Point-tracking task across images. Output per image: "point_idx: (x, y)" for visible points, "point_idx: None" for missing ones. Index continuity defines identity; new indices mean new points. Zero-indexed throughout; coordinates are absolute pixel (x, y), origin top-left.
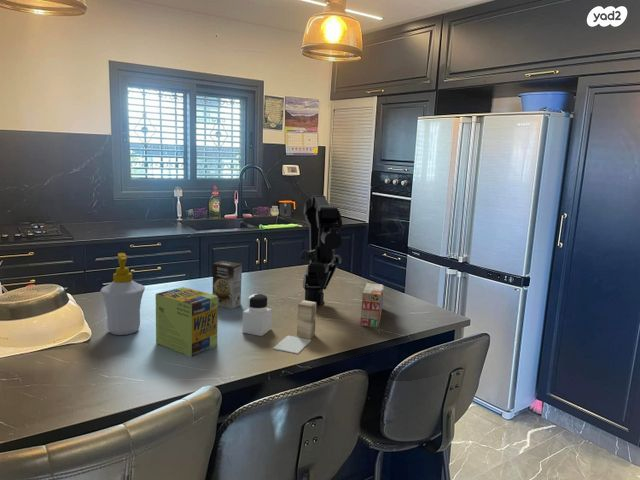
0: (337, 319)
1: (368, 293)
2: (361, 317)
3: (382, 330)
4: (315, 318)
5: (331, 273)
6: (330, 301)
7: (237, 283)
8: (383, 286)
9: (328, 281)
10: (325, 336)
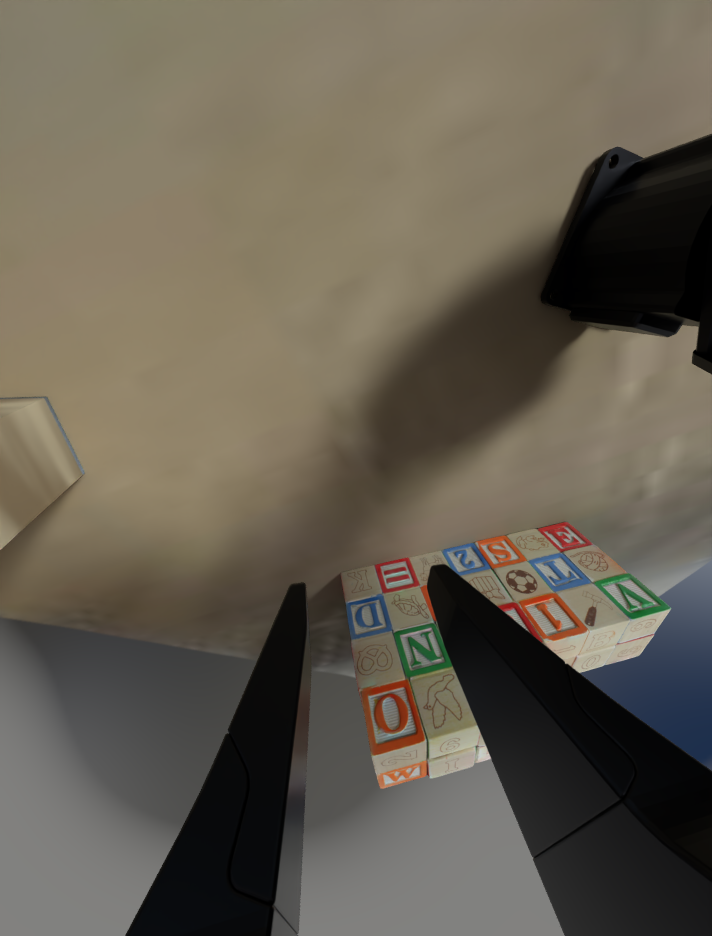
0: (371, 481)
1: (374, 765)
2: (346, 605)
3: (331, 630)
4: (3, 542)
5: (527, 822)
6: (647, 347)
7: None
8: (631, 657)
9: (449, 652)
10: (112, 520)
